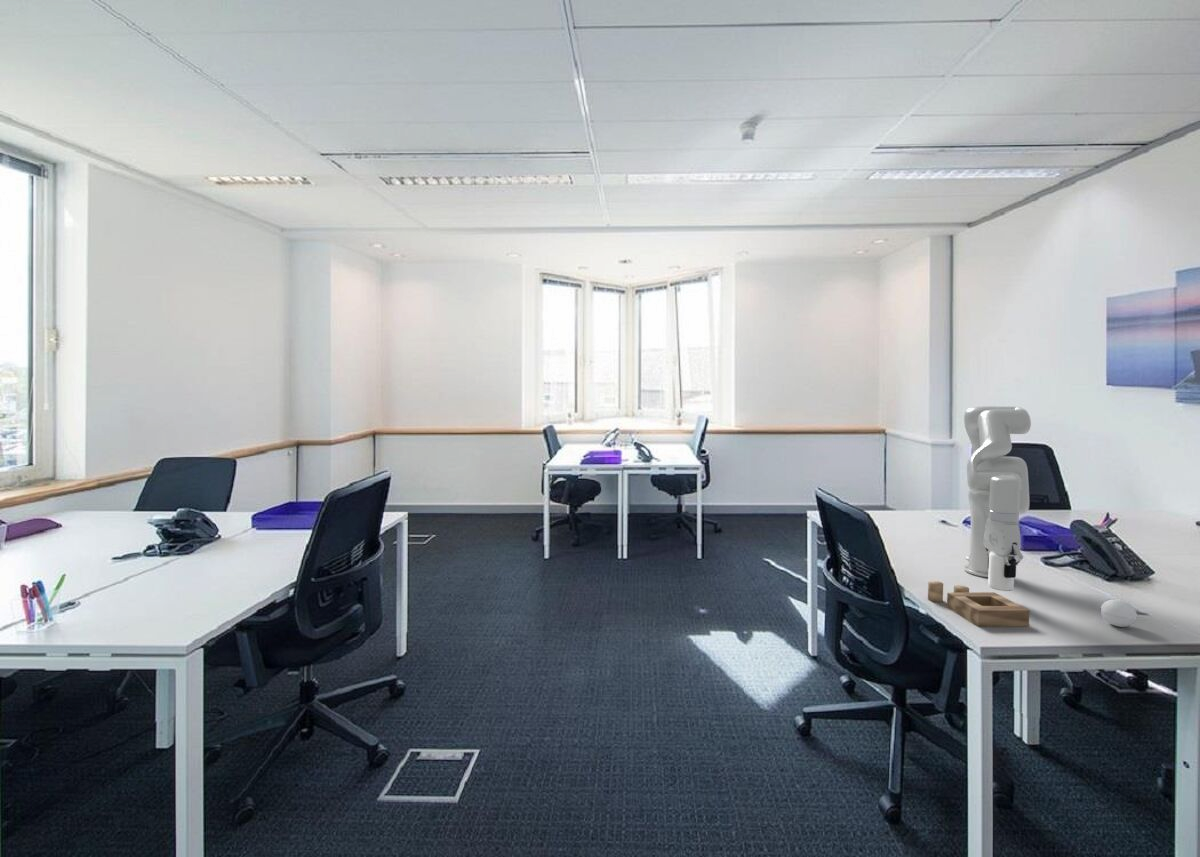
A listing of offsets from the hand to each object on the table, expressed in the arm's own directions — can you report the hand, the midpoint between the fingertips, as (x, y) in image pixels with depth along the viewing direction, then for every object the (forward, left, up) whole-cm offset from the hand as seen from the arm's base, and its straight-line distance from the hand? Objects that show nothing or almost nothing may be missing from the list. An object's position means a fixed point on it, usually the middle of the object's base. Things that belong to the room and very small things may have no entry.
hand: (1001, 572), depth 172 cm
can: (0, 0, -5) cm, 5 cm away
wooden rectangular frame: (+12, -13, -9) cm, 19 cm away
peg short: (-1, -12, -9) cm, 15 cm away
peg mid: (-1, -20, -9) cm, 21 cm away
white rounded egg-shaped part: (+19, +17, -9) cm, 27 cm away
